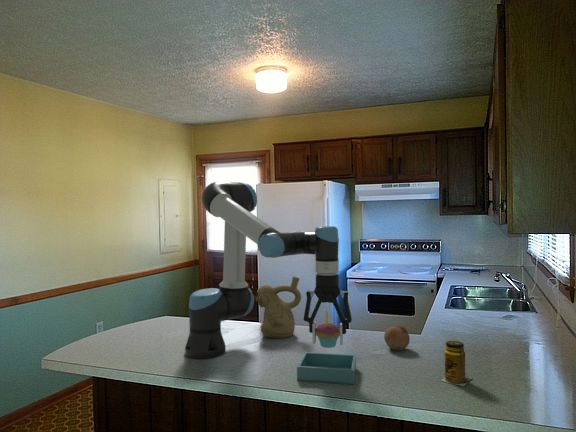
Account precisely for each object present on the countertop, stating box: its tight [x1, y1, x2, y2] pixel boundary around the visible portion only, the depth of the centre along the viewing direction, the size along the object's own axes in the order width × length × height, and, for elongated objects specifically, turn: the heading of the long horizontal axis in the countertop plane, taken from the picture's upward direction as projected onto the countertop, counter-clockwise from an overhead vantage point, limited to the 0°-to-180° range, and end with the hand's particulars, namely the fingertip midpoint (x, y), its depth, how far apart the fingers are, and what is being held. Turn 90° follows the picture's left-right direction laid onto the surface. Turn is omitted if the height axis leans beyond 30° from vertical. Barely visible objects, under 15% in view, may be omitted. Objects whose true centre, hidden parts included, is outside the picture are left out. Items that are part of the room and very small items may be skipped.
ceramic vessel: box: [255, 276, 302, 339], centre depth 194 cm, size 17×20×25 cm
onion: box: [383, 325, 411, 352], centre depth 173 cm, size 10×9×10 cm
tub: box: [296, 351, 357, 386], centre depth 148 cm, size 18×15×4 cm
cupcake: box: [315, 310, 340, 349], centre depth 147 cm, size 9×8×12 cm
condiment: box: [439, 340, 473, 387], centre depth 142 cm, size 7×8×12 cm
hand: (327, 343), depth 147 cm, fingers closed on cupcake, 8 cm apart
